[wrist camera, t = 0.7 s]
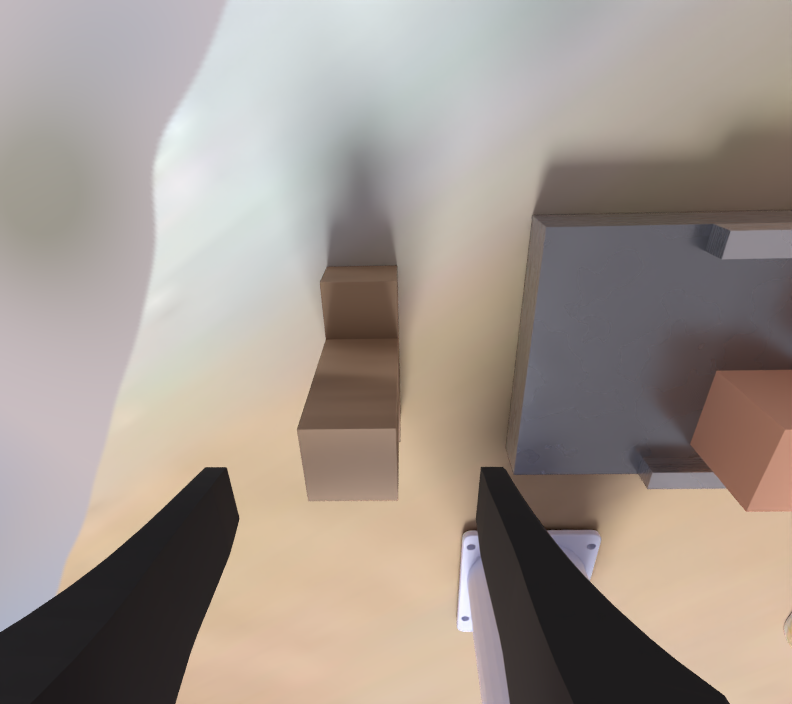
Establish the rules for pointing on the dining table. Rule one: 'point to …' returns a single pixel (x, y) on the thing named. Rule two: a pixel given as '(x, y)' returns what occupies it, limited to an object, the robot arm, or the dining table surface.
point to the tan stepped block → (355, 390)
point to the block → (749, 436)
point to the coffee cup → (788, 630)
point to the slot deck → (642, 336)
